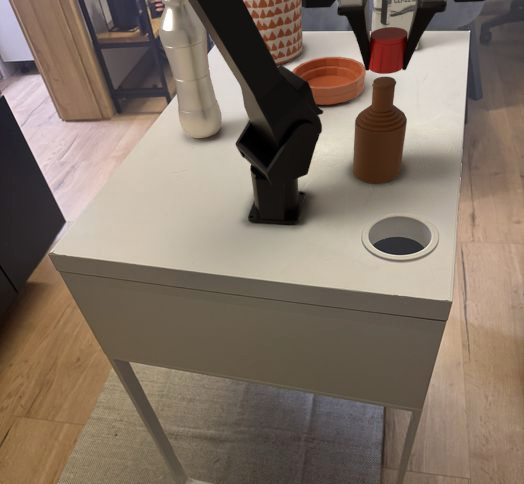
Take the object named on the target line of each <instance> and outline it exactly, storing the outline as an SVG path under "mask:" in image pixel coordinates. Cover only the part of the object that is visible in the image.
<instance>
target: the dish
mask: <svg viewBox="0 0 524 484" xmlns="http://www.w3.org/2000/svg"><path fill="white" fill-rule="evenodd" d="M292 72H293V73H295V74H296V75H298V76H299V77H301V78H302V79H304V80H305V81H307V82H308V84H309V86H310V88H311V90H312V94H313V98H314V101H315V103H316V105H317V106H318V105H319V106H330V105H337V104H342V103H345V102H347V101H349V100H352V99H355V98H357V97H358V96H359V95H361V93H363V92H364V90H365V86H366V75H367V73H366V72H367V71H366V70H365V66H364V63H363V62H361V61H358V60H356V59H354V58H350V57H343V56H323V57H318V58H313V59H310V60H306V61H305V62H302V63H300V64H299V65H297V66H296V67H294V68H293V69H292Z"/></svg>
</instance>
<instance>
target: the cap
mask: <svg viewBox="0 0 524 484" xmlns="http://www.w3.org/2000/svg"><path fill="white" fill-rule="evenodd" d="M407 36H408V33H407V31H406V30H404V29H402V28H397V27H386V28H380V29H377V30H375V31H373V32H372V33H371V32H370V44H369V51H370V62H369V71H370V72H373V73H375V74H379V75H381V74H382V75H388V74H389V75H390V74H394V73H398V72H400V71H402V69H403V67H404V66H403V60H404V54H405V50H406V44H407Z"/></svg>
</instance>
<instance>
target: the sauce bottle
mask: <svg viewBox="0 0 524 484" xmlns="http://www.w3.org/2000/svg"><path fill="white" fill-rule="evenodd" d="M372 82H373V83H372V86H371V87H372V94H371V104H370V105H369V106H367V107H366V108H364V109H363V110H362V111H360V112H359V113H358V114H357V116H356V117H355V119H354V136H353V137H354V140H353V155H352V161H353V162H352V174H353V176H354V177H355V178H356V179H357V180H359V181H361V182H364V183H368V184H385V183H388V182H391V181H393V180H395V179H397V178H398V176H399V175H400V173H401V169H402V162H403V161H402V160H403V155H404V146H405V140H406V130H407V124H408V119H407V116H406V113H405V112H403V111H402V109H400V108H398V107H397V106H396V105H395V104H394V99H395V89H396V85H397V81H396V79H395V78H394V77H392V76H379V77H376V78H374V80H373V81H372Z"/></svg>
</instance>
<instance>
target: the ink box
mask: <svg viewBox="0 0 524 484" xmlns="http://www.w3.org/2000/svg"><path fill="white" fill-rule="evenodd" d="M372 2H373V3H372V14H371V15H372V16H371V26H370V34H371V33H372V32H373V31H375V30H377V29H380V28H386V27H397V28H402V29H404V30H406V31H407V33H408V34H409V30H410V26H411V21H412V17H413V13H414V8H415V4H416V0H373V1H372ZM407 39H408V36H407ZM419 46H420V41H419V42H418V44H417V47H416V49H415V51H418V50H419Z"/></svg>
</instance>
